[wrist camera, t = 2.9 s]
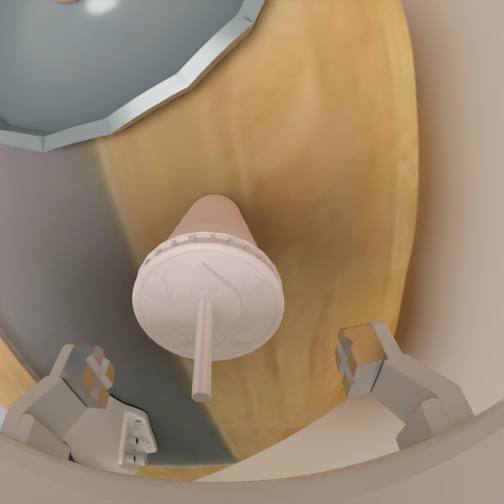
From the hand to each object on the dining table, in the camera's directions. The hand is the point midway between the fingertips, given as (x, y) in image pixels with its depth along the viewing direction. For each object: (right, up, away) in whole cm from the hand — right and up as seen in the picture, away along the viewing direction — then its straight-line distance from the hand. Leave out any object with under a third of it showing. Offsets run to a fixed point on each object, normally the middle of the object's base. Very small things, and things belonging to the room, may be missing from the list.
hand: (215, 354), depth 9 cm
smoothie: (-1, +6, +11) cm, 12 cm away
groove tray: (-10, +22, +1) cm, 25 cm away
